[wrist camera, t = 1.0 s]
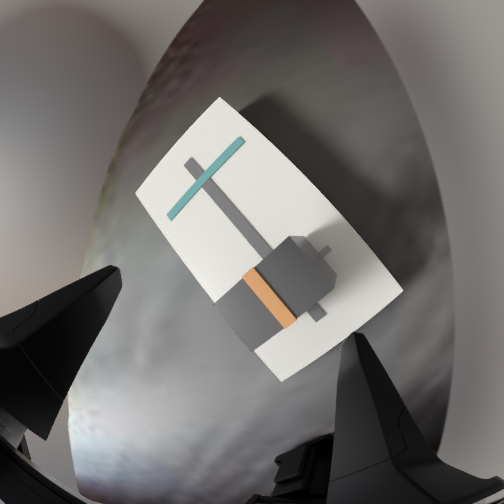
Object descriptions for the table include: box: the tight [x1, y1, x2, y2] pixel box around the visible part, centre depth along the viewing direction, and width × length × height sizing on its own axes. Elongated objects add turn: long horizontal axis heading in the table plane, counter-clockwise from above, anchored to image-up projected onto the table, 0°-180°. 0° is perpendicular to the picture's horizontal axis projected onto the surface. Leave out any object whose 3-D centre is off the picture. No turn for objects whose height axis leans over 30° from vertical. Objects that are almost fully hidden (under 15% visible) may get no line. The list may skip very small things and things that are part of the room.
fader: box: [213, 236, 337, 352], centre depth 15 cm, size 3×5×5 cm, turn 132°
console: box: [135, 97, 403, 382], centre depth 19 cm, size 18×10×3 cm, turn 42°
